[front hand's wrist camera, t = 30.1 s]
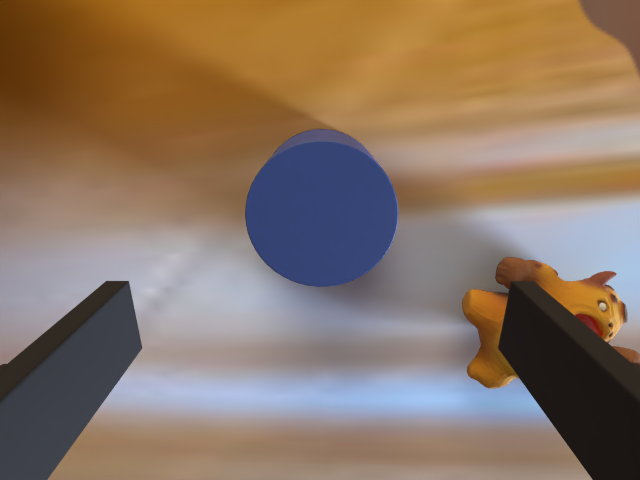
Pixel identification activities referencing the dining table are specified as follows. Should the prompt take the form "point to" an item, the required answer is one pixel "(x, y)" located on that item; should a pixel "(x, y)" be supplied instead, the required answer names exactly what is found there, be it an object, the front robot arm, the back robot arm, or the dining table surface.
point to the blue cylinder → (321, 209)
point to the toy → (577, 296)
